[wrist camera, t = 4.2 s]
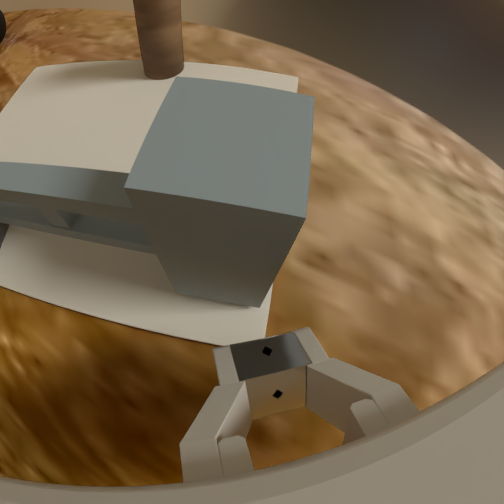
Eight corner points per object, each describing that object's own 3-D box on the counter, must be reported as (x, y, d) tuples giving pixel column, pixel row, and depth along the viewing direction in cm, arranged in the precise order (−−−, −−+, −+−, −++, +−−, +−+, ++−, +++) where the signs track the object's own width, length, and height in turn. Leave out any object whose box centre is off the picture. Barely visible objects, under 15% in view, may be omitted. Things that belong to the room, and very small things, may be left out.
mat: (-69, 257, 14) (-72, 255, 14) (37, 70, 22) (36, 67, 22) (261, 352, 15) (262, 352, 15) (297, 81, 23) (298, 77, 22)
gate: (-42, 236, 15) (-122, 167, 6) (-20, 186, 16) (-86, 106, 8) (259, 308, 15) (306, 217, 7) (271, 231, 16) (314, 96, 8)
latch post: (139, 83, 21) (120, -29, 12) (153, 60, 22) (141, -42, 13) (177, 85, 21) (168, -33, 12) (189, 62, 23) (186, -45, 13)
